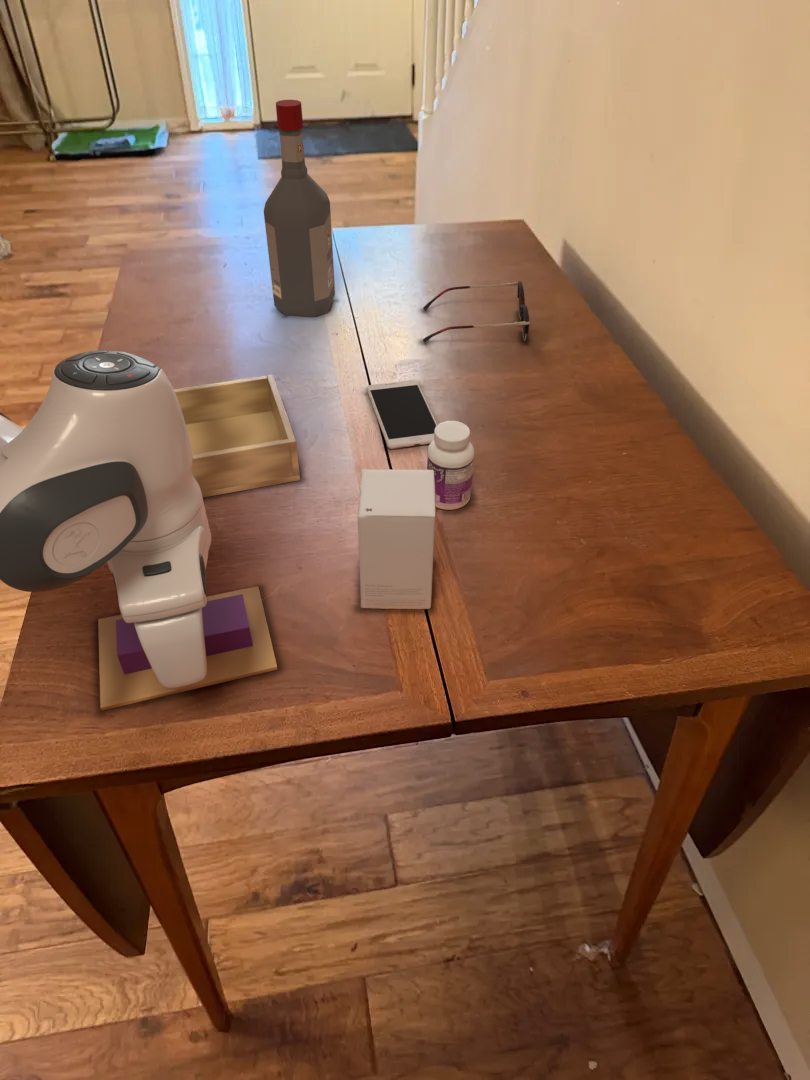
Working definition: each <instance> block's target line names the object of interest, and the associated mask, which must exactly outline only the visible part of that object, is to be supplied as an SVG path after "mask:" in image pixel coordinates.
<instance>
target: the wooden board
mask: <svg viewBox="0 0 810 1080" xmlns="http://www.w3.org/2000/svg"><path fill="white" fill-rule="evenodd" d="M240 594H243V598H244V603H245V608H246V613H247V618H248V623H249V627H250V633H251V638H252V643H253V646H250V647H246V648H241V649H237V650H232V651H228V652H223V653H219V654H214V655H210V656H206V661H207V674H206V677H205V679H203V680H202V681H200V682H197V683H194V684H190V685H187V686H182V687H176V688H166V687H163V686H162V685H161V684H160V683H159V681H158V679H157V677H156V675H155V673H154V671H153V669H152V668H151V669H147V670H142V671H138V672H133V673H129V674H124V672H123V669H122V667H121V664H120V662H119V659H118V656H117V638H116V620H119V619H123V617H122V614H121V613H120V614H117V615H113V616H112V615H111V616H108V617H102V618H98V619H97V628H98V631H97V632H98V667H99V668H98V669H99V673H98V674H99V707H100V710H101V711H106V710H111V709H114V708H115V709H116V708H119V707H124V706H128V705H133V704H137V703H140V702H145V701H149V700H153V699H158V698H162V697H167V696H172V695H175V694H179V693H183V692H188V691H192V690H196V689H200V688H204V687H205V688H206V687H209V686H214V685H218V684H221V683H226V682H230V681H231V682H232V681H235V680H239V679H243V678H248V677H252V676H256V675H261V674H265V673H270V672H273V671H277V670H278V669H279V668H278V664H277V659H276V656H275V651H274V646H273V643H272V642H273V641H272V638H271V635H270V630H269V629H270V628H269V625H268V621H267V617H266V613H265V609H264V605H263V604H264V603H263V600H262V596H261V592H260V587H259V585H258V586H251V587H247V588H242V589H237V590H233V591H232V590H231V591H227V592H222V593H218V594H213V595H208V596H206V599H207V601H211V600H216V599H221V598H225V597H230V596H235V595H240Z"/></svg>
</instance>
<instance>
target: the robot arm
mask: <svg viewBox="0 0 810 1080" xmlns="http://www.w3.org/2000/svg"><path fill="white" fill-rule="evenodd" d="M174 389H175V388H174V387H173V385H172V383H171V381H170V380H169V378H168V376H167V374H166V373H165V372H164V370H163V369H162V368H161V367H160V366H158V365H156V364H155V363H153V362H151V361H150V360H148V359H145V358H143V357H140V356H138V355H135V354H133V353H130V352H127V351H121V350H120V351H117V350H107V349H101V350H89V351H83V352H79V353H76V354H73V355H71V356H69V357H67V358H65V359H63V360H61V361H60V362H58V363H57V364H56V365H55V366H54V368H53V369H52V373H51V379H50V384H49V388H48V391H47V393H46V395H45V397H44V399H43V400H42V402H41V403H40V406H39V407H38V409H37V411H36V412H35V414H33V417H32V418H31V419H30V420H29V422H28V423H27V424H26V426H25V427H24V428H23V426H20V425H19V424H18V423H15V422H13V420H11V418H9V417H8V416H6V415H4V414H3V413H2V412H0V581H1V582H2V583H4V584H5V585H7V586H8V587H10V588H12V589H15V590H18V591H22V592H27V593H44V592H49V591H55V590H58V589H62V588H64V587H67V586H70V585H72V584H75V583H76V582H78V581H80V580H81V579H83V578H85V577H87V576H88V575H90V574H92V573H93V572H94V571H96V570H97V569H99V568H100V567H101V566H103V565H104V564H107V567H108V569H109V571H110V573H111V575H112V580H113V582H114V587H115V589H114V590H115V593H116V599H117V602H118V607H119V611H120V615H121V614H122V617H123V619H124V621H125V622H126V623H134V625H135V628H136V631H137V634H138V637H139V640H140V643H141V645H142V647H143V650H144V652H145V654H146V656H147V658H148V661H149V663H150V665H151V667H152V669H153V671H154V673H155V675H156V677H157V679H158V681H159V683H160V684H161V685H162V686H163V687H166V688H176V687H182V686H187V685H190V684H194V683H197V682H200V681H202V680H203V679H205V677H206V674H207V661H206V650H205V640H204V630H203V618H202V608H203V607H205V606H206V604H207V599H206V597H207V594H208V591H207V570H206V569H207V564H208V558H209V550H210V547H211V544H212V533H211V529H210V523H209V521H208V520H209V519H208V515H207V510H206V506H205V502H204V498H203V497H202V493H201V489H200V486H199V484H198V483H197V481H196V479H195V478H194V476H193V474H192V470H191V467H192V460H193V454H192V448H191V444H190V439H189V435H188V431H187V427H186V424H185V420H184V417H183V414H182V410H181V407H180V404H179V402H178V399H177V396H176V394H175V392H174Z"/></svg>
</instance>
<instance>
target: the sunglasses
mask: <svg viewBox="0 0 810 1080" xmlns="http://www.w3.org/2000/svg"><path fill="white" fill-rule="evenodd" d="M514 286H515V287H516V286H517V296H516V297H517V299H518V316H519V320H520V321H514V322H507V323H490V324H475V325H473V324H470V325H455V326H447V327H445V328H442V329H440V330H438V331H436V332H433V333H431V334H429V335H426V336H425V337H424V338H422V342H423V343H427V342H428V341H430V340H431V339H432V338H433V337H436V336H437V335H440V334H442V333H444V332H446V331H450V330H463V329H464V330H465V329H476V328H491V327H492V328H494V327H505V326H522V337H523V341H524V342H526V341H527V335H529V332H530V331H529V330H530V324H531V322H530V314H529V309H528V306H527V304H526V299H525V289H524V285H523V282H522V281H521V280H518V281H517V282H516V281H515V282H507V283H506V282H505V283H497V284H496V283H493V284H480V285H479V284H478V285H461V286H453V287H449V288H446V289H444V290H442V291H440V293H438V294H437V295H436V296H435V297H433V298H432V299H431V300H430V301H428V302H427V303H426V304H425V305H424V306H423V307H422V309H423V310H424V311H425V312H426V311H427V310H428V309H429V308H430V307H431V305H432V304H433V303H434V302H435V301H437V300H438V299H439V298H440V297H442V296H443V295H444V294H446V293H448V292H450V291H455V290H466V289H479V288H493V287H494V288H495V287H514Z"/></svg>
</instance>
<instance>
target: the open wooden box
mask: <svg viewBox="0 0 810 1080" xmlns="http://www.w3.org/2000/svg"><path fill="white" fill-rule="evenodd" d="M173 389H174V392H175V394H176V396H177V399H178V402H179V404H180V407H181V410H182V414H183V417H184V420H185V424H186V427H187V431H188V435H189V439H190V444H191V448H192V454H193V460H192V467H191V470H192V474H193V476H194V478H195V479H196V481H197V483H198V484H199V486H200V489H201V493H202V497H203V499H204V498H208V497H215V496H219V495H225V494H226V495H227V494H230V493H236V492H242V491H248V490H253V489H259V488H265V487H270V486H275V485H281V484H286V483H291V482H297V481H300V480H301V476H300V473H301V472H300V466H299V465H300V464H299V455H298V446H297V440H296V437H295V434H294V431H293V429H292V426H291V423H290V420H289V417H288V415H287V411H286V409H285V406H284V403H283V400H282V397H281V394H280V392H279V388H278V385H277V383H276V380H275V377H274V374H267V375H261V376H253V377H247V378H246V377H245V378H240V379H233V380H227V381H219V382H213V383H206V384H200V385H193V386H186V387H179V388H173Z"/></svg>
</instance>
